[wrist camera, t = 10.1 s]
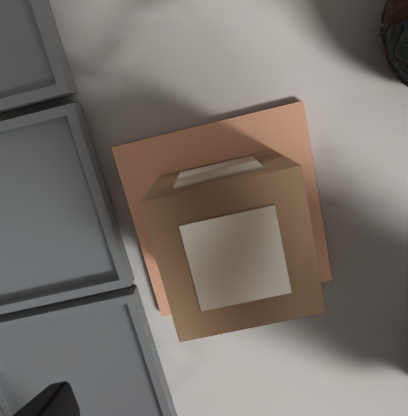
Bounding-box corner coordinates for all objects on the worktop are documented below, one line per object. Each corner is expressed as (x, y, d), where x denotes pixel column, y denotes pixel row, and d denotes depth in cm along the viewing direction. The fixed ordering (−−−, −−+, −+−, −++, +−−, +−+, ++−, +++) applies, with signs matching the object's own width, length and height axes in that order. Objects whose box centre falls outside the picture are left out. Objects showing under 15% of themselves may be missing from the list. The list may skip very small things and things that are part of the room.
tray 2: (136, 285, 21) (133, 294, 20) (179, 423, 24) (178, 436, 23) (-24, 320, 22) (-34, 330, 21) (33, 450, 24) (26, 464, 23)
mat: (301, 100, 19) (303, 100, 18) (330, 277, 21) (332, 280, 21) (113, 146, 19) (111, 147, 19) (162, 312, 22) (161, 316, 21)
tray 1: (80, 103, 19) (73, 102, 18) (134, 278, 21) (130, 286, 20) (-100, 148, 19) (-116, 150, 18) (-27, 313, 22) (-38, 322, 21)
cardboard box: (272, 147, 19) (301, 163, 13) (292, 255, 20) (326, 313, 14) (159, 173, 19) (138, 200, 13) (187, 277, 21) (179, 343, 15)
